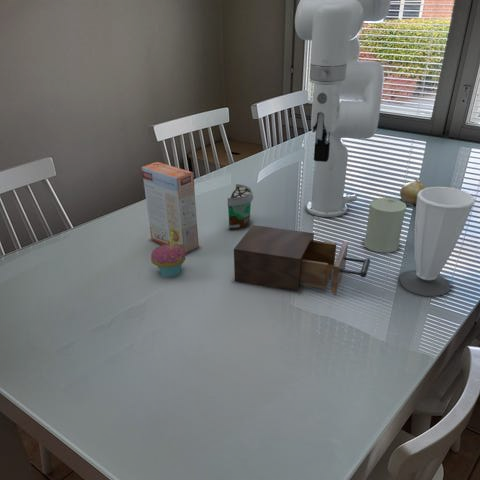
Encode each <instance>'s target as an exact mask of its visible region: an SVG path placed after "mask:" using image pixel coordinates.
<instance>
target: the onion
mask: <svg viewBox="0 0 480 480" xmlns="http://www.w3.org/2000/svg"><path fill="white" fill-rule="evenodd" d="M425 188H426V187H425V185H424V184H423V183H422V182H421V180H420V179H416V178H414V181H409V182H407V183H405V184H403V186H402V187H401V188H400V191H399V195H400V199H401V201H402V202H404V203H405V204H406V205H416V204H417V195H418V193H419V192H420V191H421V190H423V189H425Z"/></svg>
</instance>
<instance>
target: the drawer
mask: <svg viewBox="0 0 480 480" xmlns="http://www.w3.org/2000/svg"><path fill="white" fill-rule="evenodd" d="M337 246H338V245H337V242H329V241H320V240H316V239H315V240H312V241H311V243H310V245H309V247H308V249H307V250H306V252H305V254H304V256H303V258H302V260H301V271H300V285H302V286H306V287H312V288H318V289H323V290H324V289H326V288H327V286H328V282H329V281H330V278H331V284H330V285H331V286H330V294H335V295H337V292H338V288H339V286H340V283H341V280H342V279H343V275H344V273H345V274H351V275H356V276H359V277H360V278H363V279H364V278H366V277H367V275H368V271H369V268H370V264H371V258H369V257H365V258H357V257H356V258H355V257H350V256H347V255H348V248H349V242H347V241H343V242H342V244H341V247H340V249H339V252H338V254H337V257H336V253H337ZM347 261H350V262H356V263H362V266H361V270H360V271H359V270H352V269H346V263H347ZM331 275H332V276H331Z"/></svg>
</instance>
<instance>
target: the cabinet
mask: <svg viewBox="0 0 480 480" xmlns="http://www.w3.org/2000/svg"><path fill="white" fill-rule="evenodd" d="M314 239H315V233H314V232H309V231H301V230H293V229H285V228H278V227H270V226H264V225H258V224H257V225H256V224H252V225H251V226H250V228H249V229H248V230H247V231H246V233H245V234H244V235H243V237H241V239H240V240H239V242H237V244H236V245H235V247H234V248H233V271H234V273H233V274H234V282H235V283H241V284H248V285H254V286H258V287H264V288H265V287H266V288H269V289H270V288H271V289H276V290H282V291H288V292H294V293H299V292H300V290H301V288H302V286H303V285H300V271H301V260H302V258H303V256H304V254H305V252H306V250H307V249H308V247H309V245H310V243H311V241H312V240H314Z"/></svg>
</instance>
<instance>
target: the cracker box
mask: <svg viewBox="0 0 480 480" xmlns="http://www.w3.org/2000/svg"><path fill="white" fill-rule="evenodd" d="M141 173H142V179H143V188H144V195H145V203H146V209H147V217H148V224H149V225H148V226H149V230H150V231H149V232H150V239H151V240H152V241H153V242H155V243H158V244H160V245H167V244H170V239H171V232H172V229H173V232H174V235H173V244H174V245H177V246H179V247H181V248H182V249H183V250H184V251H185V252H186V254H188V253H190V252H192V251H194V250H196V249H198V248H199V246H200V245H199V231H198V217H197V205H196V191H195V189H196V188H195V177H194V172H192V171H189V170H187V169H183V168H180V167H176V166H173V165H170V164H166V163H163V162H161V161H156V162H152V163H149V164H146V165H143V166H141Z"/></svg>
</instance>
